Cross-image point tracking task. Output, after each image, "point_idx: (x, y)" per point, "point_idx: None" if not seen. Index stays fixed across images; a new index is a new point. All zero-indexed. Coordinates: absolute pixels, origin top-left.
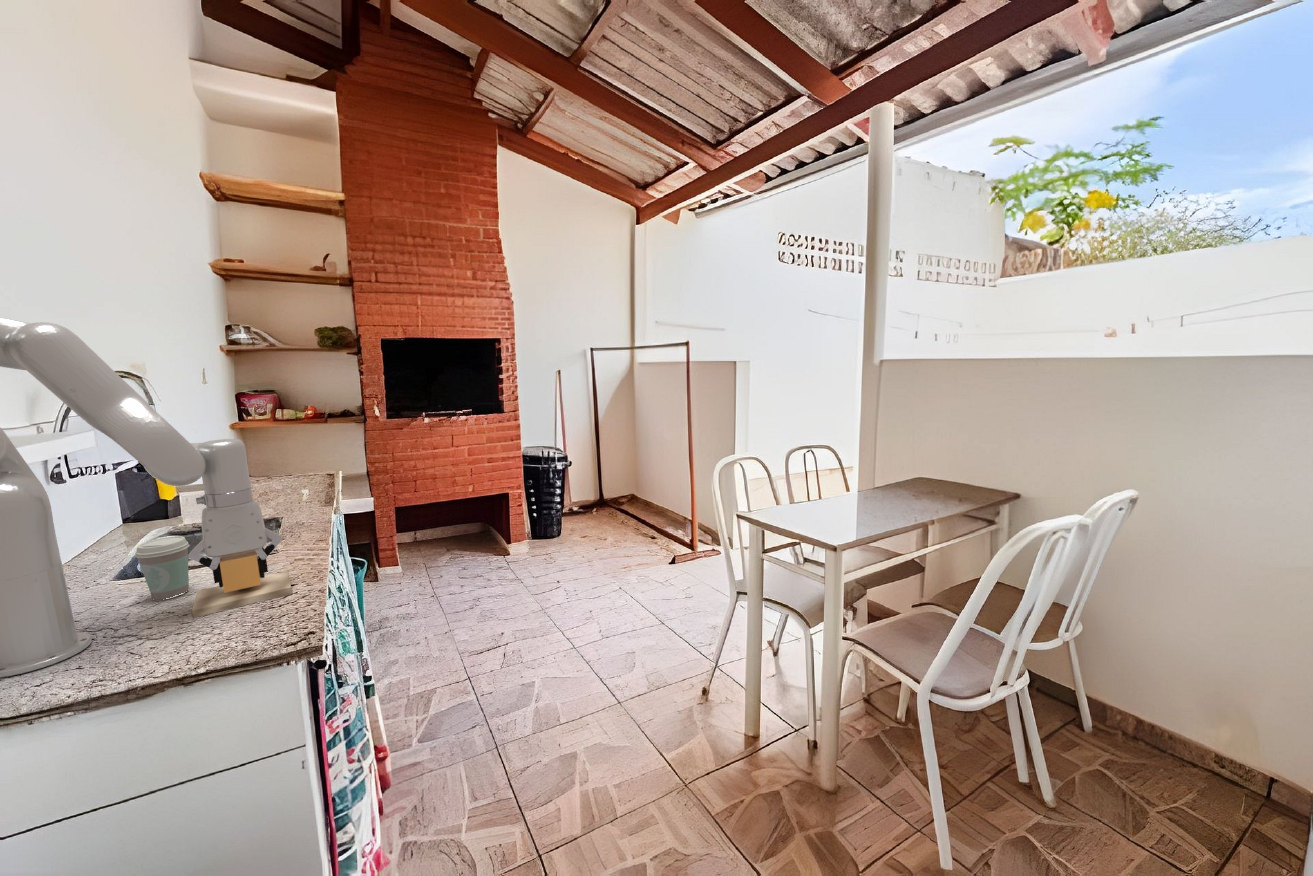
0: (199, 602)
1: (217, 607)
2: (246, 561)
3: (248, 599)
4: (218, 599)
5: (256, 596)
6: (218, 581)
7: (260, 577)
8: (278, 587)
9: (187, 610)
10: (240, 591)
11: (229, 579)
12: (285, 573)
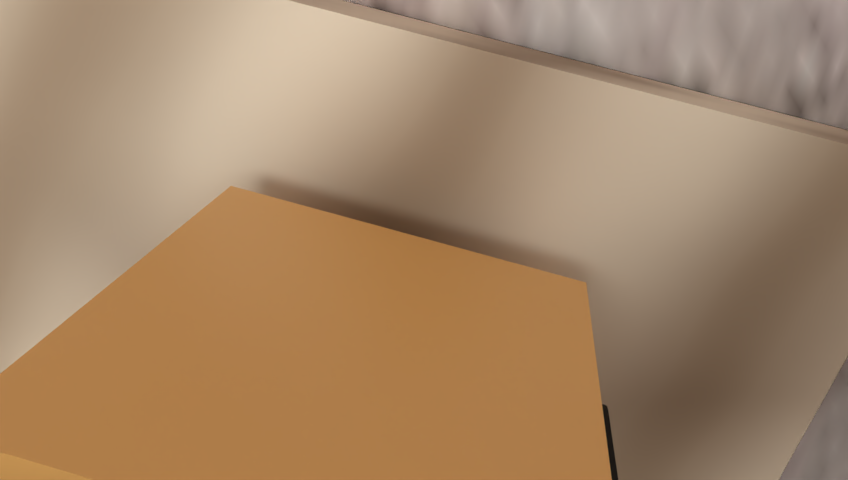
0: (789, 362)
1: (704, 100)
2: (175, 427)
3: (414, 25)
4: (640, 275)
5: (332, 9)
6: (613, 454)
7: None
8: (101, 59)
9: (839, 405)
10: None
11: (512, 348)
12: None
